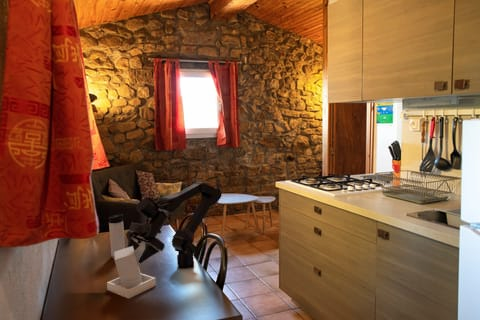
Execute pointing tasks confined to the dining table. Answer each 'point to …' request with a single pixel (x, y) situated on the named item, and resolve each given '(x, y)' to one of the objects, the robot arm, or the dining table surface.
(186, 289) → the dining table surface
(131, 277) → the supplement box
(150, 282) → the tray
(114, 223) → the travel mug
